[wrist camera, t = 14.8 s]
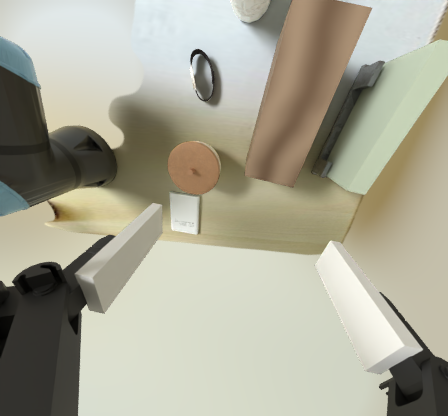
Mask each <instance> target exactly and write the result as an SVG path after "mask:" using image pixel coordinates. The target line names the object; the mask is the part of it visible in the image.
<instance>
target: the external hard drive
mask: <svg viewBox="0 0 448 416" xmlns="http://www.w3.org/2000/svg"><path fill="white" fill-rule="evenodd" d="M169 194H170V210H171V227H172V230H174V231H180V232H186V233H191V234H198V229H199V203H200V196H197V195H191V194H185V193H179V192H172V191H170V192H169Z"/></svg>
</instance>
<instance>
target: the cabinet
mask: <svg viewBox="0 0 448 416" xmlns="http://www.w3.org/2000/svg"><path fill="white" fill-rule="evenodd" d="M371 10H372V8H370V7H366V6H361V5H356V4H351V3H347V2H342V1H337V0H292V2H291V5H290V8H289V11H288V13H287V16H286V19H285V22H284V25H283V28H282V31H281V34H280V37H279V40H278V42H277V46H276V50H275V53H274V57H273V61H272V65H271V68H270V72H269V76H268V80H267V83H266V87H265V91H264V95H263V98H262V102H261V106H260V110H259V113H258V117H257V121H256V125H255V128H254V132H253V136H252V140H251V143H250V147H249V151H248V155H247V159H246V167H245V176H248V177H252V178H256V179H260V180H264V181H269V182H273V183H277V184H281V185H285V186H289V187H293V186H294V184H295V182H296V180H297V177H298V175H299V173H300V171H301V168H302V166H303V164H304V162H305V159H306V157H307V155H308V152H309V150H310V148H311V146H312V143H313V141H314V139H315V137H316V134H317V132H318V130H319V128H320V125H321V123H322V121H323V118H324V116H325V114H326V112H327V109H328V107H329V105H330V103H331V100H332V98H333V96H334V94H335V91H336V89H337V87H338V84H339V82H340V80H341V78H342V75H343V73H344V71H345V69H346V66H347V64H348V62H349V60H350V57H351V55H352V53H353V50H354V48H355V46H356V44H357V41H358V39H359V37H360V35H361V32H362V30H363V28H364V26H365V23H366V21H367V19H368V16H369V14H370V12H371Z"/></svg>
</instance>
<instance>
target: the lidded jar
mask: <svg viewBox="0 0 448 416" xmlns="http://www.w3.org/2000/svg"><path fill="white" fill-rule="evenodd" d="M168 171H169V175H170V177H171V179H172V181H173V182H174V183H175V185H176V186H177V187H179V188H180V189H181V190H183V191H184V192H187V193H190V194H195V195H199V194H204V193H206V192H208V191H210V190H211V189H212V188H213V187H214V186H215V185H216V183H217V181H218V179H219V176H220V172H221V162H220V158H219V156H218V154H217V152H216V151H215V150H214V149H213V148H212V147H211V146H210V145H208V144H206V143H204V142H201V141H187V142H183V143H181V144H179V145H177V146H176V147H175V148H174V149H173V150H172V152H171V153H170V155H169V158H168Z"/></svg>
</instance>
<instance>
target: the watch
mask: <svg viewBox="0 0 448 416" xmlns="http://www.w3.org/2000/svg"><path fill="white" fill-rule="evenodd" d="M196 54H201V55H203V56H204V57H205V58H206V60H207V61H208V63H209V65H210V68H211V74H212V84H213V90H214V80H215V78H214V71H213V70H212V65H211V62H210V60H209V58H208V56H207V55H206V54H205V52H203V51H202V50H200V49H196V50H194V51H193V52H192V54H191V58H190V63H191V68H190V73H191V78H192V83H193V88H194V89H195V91H196V84H195V78H194V73H193V68H192V60H193V57H194V56H195V55H196ZM196 93H197V91H196ZM212 94H213V91H212ZM212 94H211V96H210V98H211V97H212ZM197 96H198V94H197ZM198 97H199V96H198ZM210 98H208V99H207V100H202V99H201V98H200V97H199V99H200V100H202V101H208V100H209V99H210Z"/></svg>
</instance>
